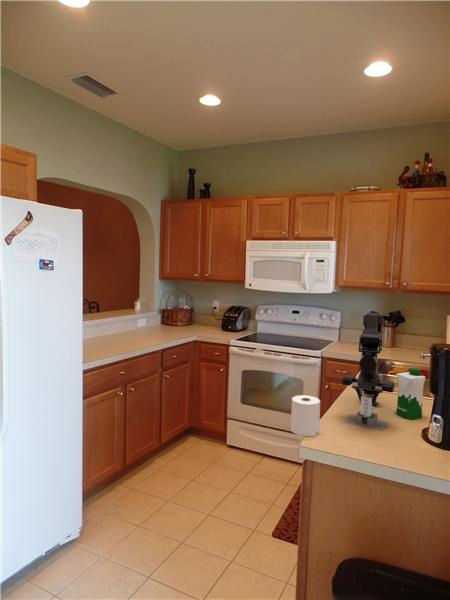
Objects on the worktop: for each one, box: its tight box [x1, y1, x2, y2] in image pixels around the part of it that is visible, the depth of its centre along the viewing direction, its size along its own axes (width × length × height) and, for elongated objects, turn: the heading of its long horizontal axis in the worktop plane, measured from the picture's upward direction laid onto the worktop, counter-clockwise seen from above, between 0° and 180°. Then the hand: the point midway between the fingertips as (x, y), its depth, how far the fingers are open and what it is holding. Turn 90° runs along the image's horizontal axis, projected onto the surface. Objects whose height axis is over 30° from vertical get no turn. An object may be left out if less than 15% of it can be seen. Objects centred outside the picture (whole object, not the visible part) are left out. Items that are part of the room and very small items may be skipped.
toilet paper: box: [290, 394, 321, 437], centre depth 149 cm, size 10×10×12 cm
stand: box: [344, 410, 388, 432], centre depth 156 cm, size 10×14×4 cm
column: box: [359, 394, 375, 417], centre depth 155 cm, size 5×4×8 cm
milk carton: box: [395, 368, 426, 421], centre depth 163 cm, size 9×9×20 cm
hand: (367, 404), depth 155 cm, fingers closed on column, 4 cm apart
